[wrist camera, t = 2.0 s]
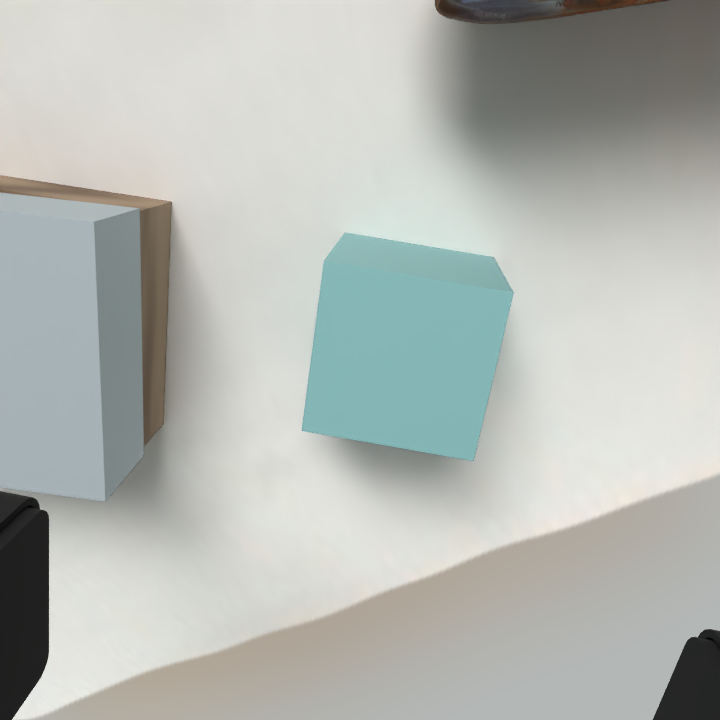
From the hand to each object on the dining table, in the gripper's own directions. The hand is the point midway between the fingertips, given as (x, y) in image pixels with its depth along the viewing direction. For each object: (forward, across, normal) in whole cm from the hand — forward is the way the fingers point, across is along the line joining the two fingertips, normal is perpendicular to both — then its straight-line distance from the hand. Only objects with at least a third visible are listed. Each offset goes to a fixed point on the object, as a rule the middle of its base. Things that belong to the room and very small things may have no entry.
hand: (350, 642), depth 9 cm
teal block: (+19, 0, 0) cm, 19 cm away
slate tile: (+16, +14, +2) cm, 21 cm away
